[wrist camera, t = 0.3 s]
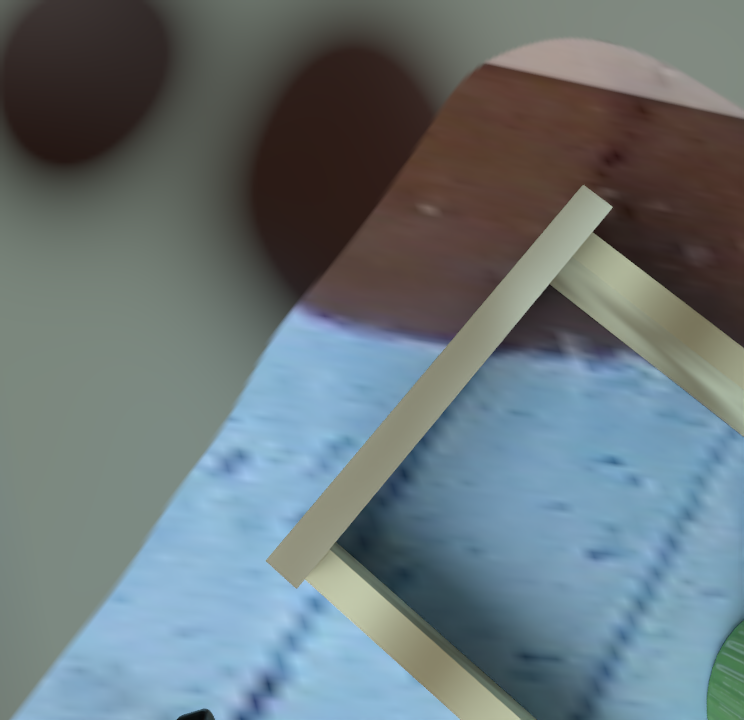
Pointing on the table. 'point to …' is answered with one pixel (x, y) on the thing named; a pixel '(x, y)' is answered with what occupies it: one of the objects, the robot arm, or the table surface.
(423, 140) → the table surface
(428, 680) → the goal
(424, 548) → the table surface
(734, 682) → the ramekin
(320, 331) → the table surface
